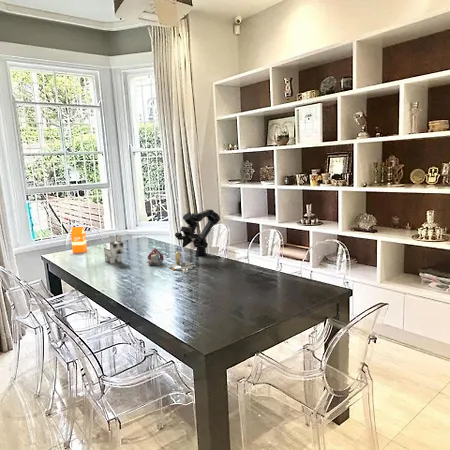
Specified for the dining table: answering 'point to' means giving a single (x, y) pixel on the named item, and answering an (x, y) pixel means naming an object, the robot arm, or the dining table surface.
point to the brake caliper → (155, 258)
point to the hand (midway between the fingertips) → (183, 247)
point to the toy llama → (114, 250)
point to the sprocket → (181, 264)
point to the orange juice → (78, 239)
